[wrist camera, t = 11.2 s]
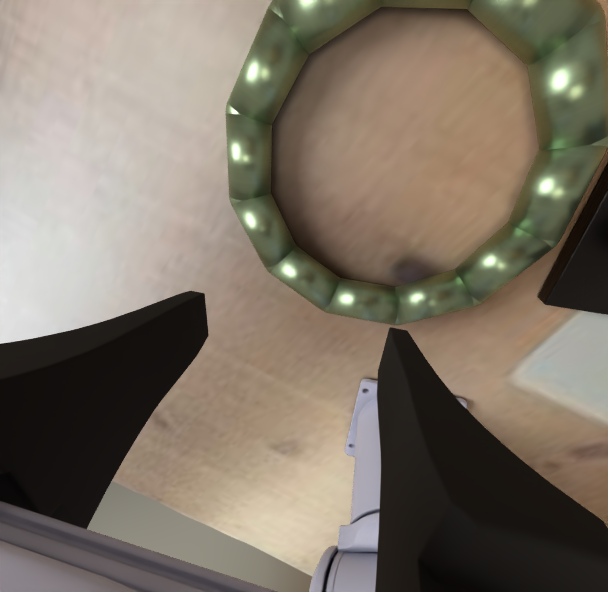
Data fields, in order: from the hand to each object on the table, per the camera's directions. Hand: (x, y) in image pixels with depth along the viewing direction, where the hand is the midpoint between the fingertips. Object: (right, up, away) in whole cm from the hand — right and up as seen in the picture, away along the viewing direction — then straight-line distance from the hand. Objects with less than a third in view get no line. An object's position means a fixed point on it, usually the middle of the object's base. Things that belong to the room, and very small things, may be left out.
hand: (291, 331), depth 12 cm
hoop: (+5, +8, +4) cm, 10 cm away
